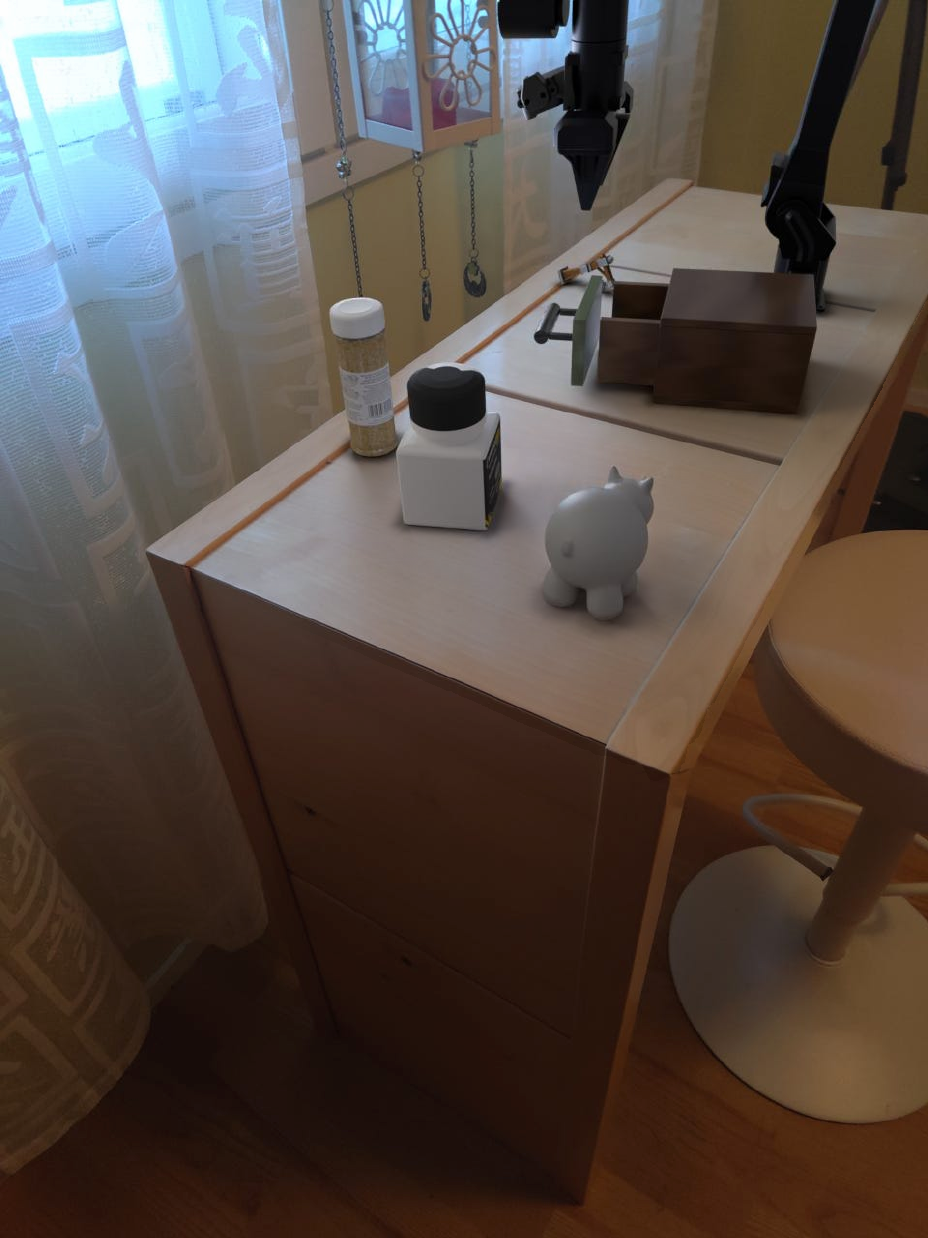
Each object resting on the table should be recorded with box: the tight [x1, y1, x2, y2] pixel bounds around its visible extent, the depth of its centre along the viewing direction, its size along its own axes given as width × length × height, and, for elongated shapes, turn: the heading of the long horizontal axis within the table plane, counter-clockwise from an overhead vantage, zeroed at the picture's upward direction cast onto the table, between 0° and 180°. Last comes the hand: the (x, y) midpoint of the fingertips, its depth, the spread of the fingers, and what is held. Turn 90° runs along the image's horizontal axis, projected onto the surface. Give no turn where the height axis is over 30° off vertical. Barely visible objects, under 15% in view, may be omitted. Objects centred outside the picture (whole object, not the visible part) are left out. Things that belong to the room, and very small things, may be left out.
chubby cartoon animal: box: [541, 465, 655, 621], centre depth 64 cm, size 7×12×8 cm, turn 146°
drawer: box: [533, 274, 669, 387], centre depth 90 cm, size 17×11×7 cm
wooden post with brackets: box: [556, 253, 616, 294], centre depth 108 cm, size 2×8×4 cm, turn 48°
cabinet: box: [652, 267, 818, 415], centre depth 87 cm, size 14×13×9 cm
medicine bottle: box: [395, 361, 503, 532], centre depth 71 cm, size 7×7×12 cm
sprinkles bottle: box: [329, 297, 399, 458], centre depth 79 cm, size 5×5×14 cm
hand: (592, 197), depth 103 cm, fingers open, 9 cm apart
